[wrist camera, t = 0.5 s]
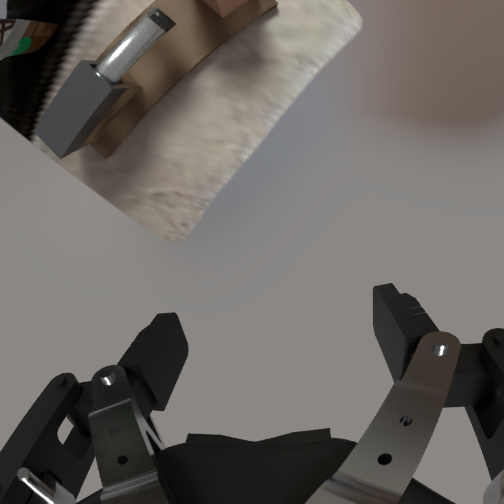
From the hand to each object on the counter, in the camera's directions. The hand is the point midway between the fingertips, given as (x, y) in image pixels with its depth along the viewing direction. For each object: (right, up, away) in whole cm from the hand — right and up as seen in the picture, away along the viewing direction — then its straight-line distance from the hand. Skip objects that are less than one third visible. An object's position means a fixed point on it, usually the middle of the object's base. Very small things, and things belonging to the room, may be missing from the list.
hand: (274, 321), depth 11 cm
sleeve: (-18, +18, +13) cm, 29 cm away
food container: (-32, +32, +11) cm, 47 cm away
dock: (-12, +26, +15) cm, 33 cm away
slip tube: (-15, +20, +12) cm, 28 cm away
